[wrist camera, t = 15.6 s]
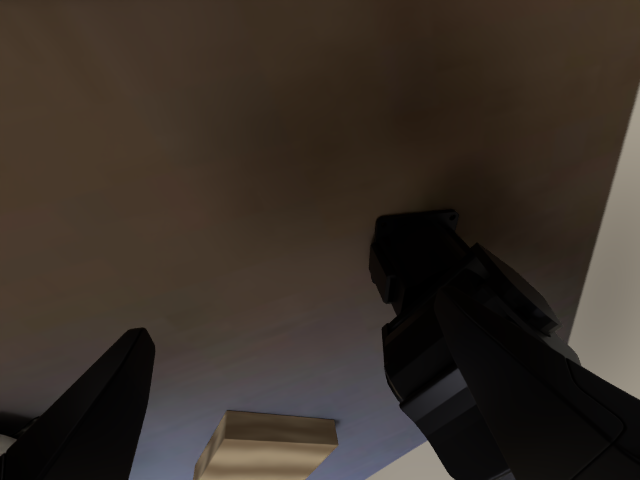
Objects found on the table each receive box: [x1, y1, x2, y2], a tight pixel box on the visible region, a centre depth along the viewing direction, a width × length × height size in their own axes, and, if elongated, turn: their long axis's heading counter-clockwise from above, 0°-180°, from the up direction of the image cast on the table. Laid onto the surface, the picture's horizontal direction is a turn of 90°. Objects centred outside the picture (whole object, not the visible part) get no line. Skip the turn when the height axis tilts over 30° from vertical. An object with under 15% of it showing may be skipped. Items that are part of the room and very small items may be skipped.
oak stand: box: [193, 411, 338, 480], centre depth 40 cm, size 14×14×3 cm
